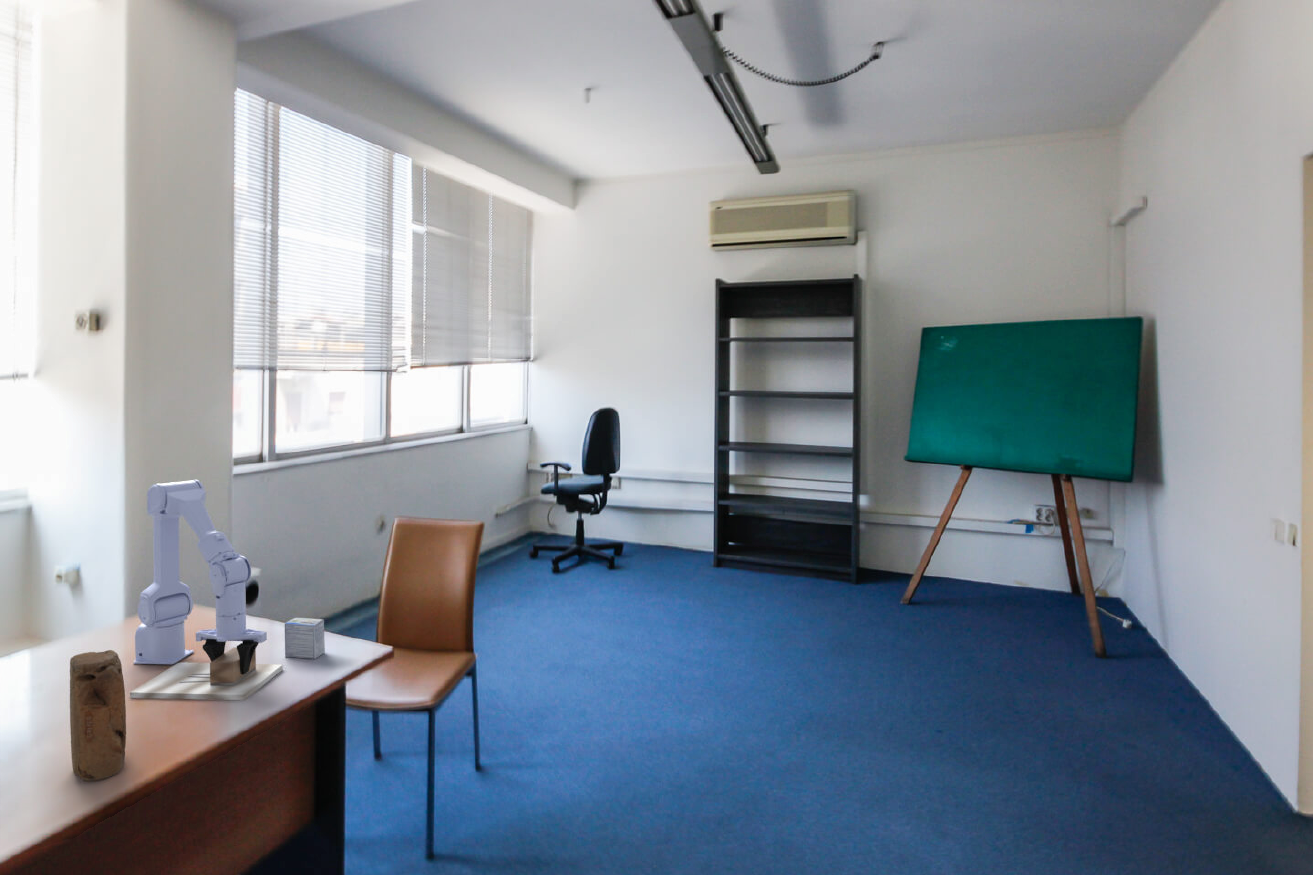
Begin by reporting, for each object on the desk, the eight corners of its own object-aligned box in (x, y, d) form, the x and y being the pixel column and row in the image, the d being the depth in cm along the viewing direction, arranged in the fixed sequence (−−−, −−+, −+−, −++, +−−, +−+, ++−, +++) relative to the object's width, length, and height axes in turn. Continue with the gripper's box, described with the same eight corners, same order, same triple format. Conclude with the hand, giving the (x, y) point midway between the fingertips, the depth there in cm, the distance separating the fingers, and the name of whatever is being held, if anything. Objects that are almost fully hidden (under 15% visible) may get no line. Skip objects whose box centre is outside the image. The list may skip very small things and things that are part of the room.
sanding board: (129, 697, 152) (129, 691, 152) (179, 667, 168) (178, 662, 168) (244, 700, 153) (244, 694, 152) (282, 669, 169) (282, 664, 168)
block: (71, 762, 127) (66, 652, 125) (123, 749, 132) (119, 643, 130) (74, 790, 119) (69, 672, 117) (130, 774, 124) (126, 661, 122)
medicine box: (325, 652, 179) (325, 618, 179) (315, 659, 175) (314, 624, 174) (295, 650, 180) (294, 616, 179) (284, 657, 176) (283, 622, 175)
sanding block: (210, 685, 156) (209, 662, 156) (233, 668, 165) (233, 647, 165) (233, 685, 156) (233, 663, 156) (255, 669, 165) (255, 647, 165)
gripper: (186, 617, 155) (187, 678, 156) (254, 619, 155) (255, 680, 156) (206, 607, 162) (207, 665, 163) (271, 609, 162) (272, 667, 163)
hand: (232, 672), depth 160 cm, fingers closed on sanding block, 5 cm apart
